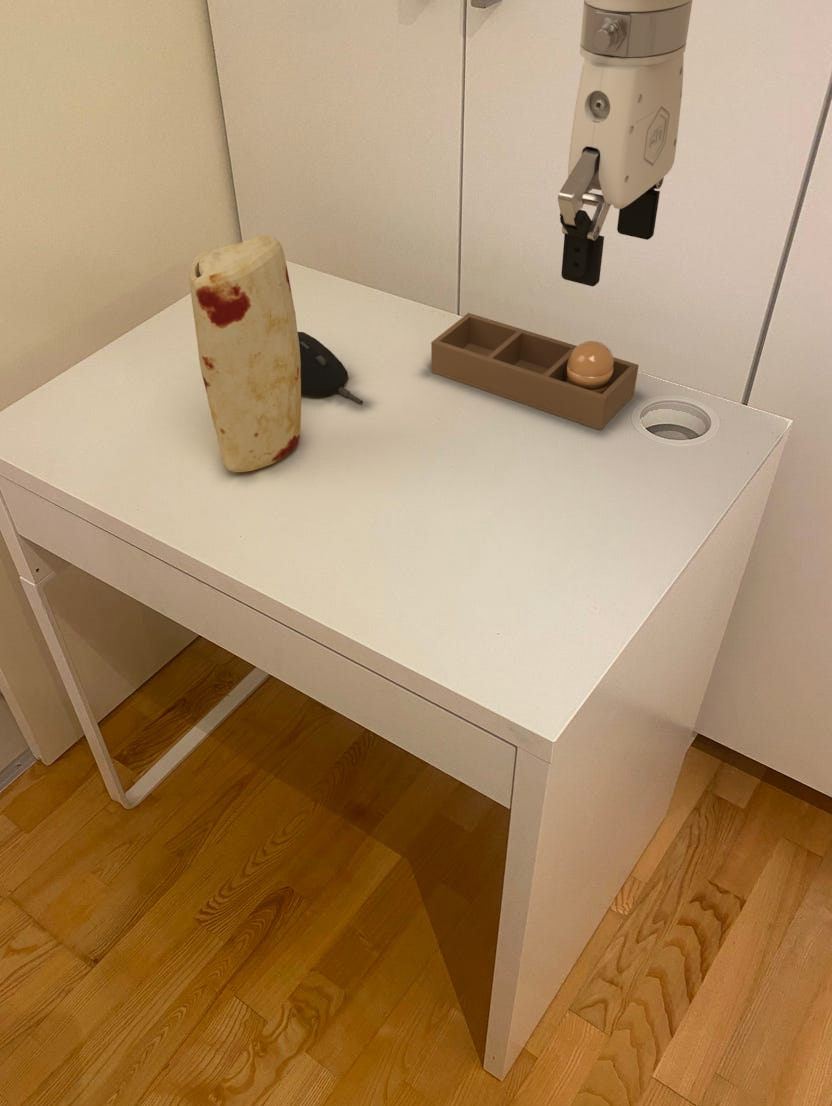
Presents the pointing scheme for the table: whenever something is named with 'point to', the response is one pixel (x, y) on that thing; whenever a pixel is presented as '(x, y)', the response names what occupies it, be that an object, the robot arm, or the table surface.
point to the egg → (590, 367)
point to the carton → (527, 370)
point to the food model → (248, 350)
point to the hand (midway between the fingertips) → (608, 257)
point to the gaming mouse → (321, 370)
